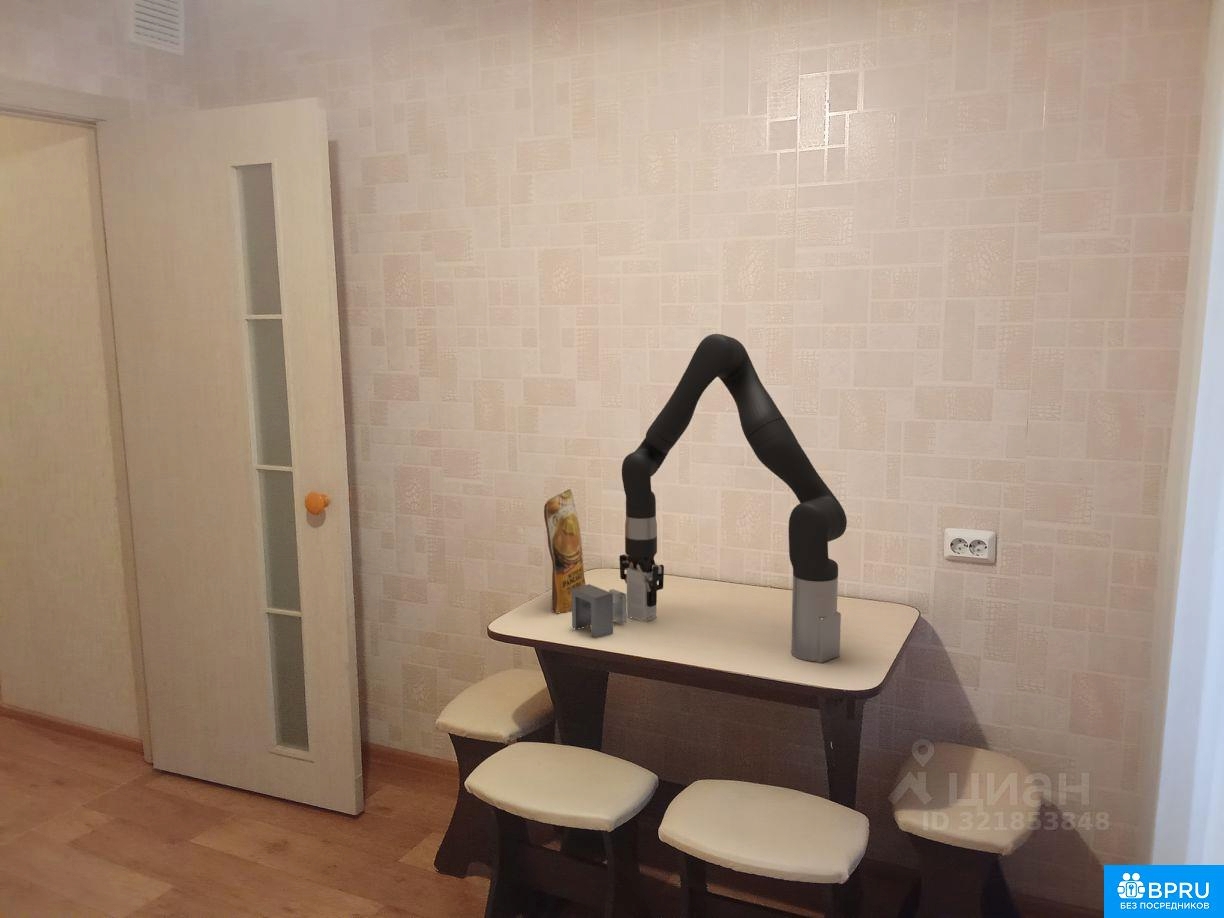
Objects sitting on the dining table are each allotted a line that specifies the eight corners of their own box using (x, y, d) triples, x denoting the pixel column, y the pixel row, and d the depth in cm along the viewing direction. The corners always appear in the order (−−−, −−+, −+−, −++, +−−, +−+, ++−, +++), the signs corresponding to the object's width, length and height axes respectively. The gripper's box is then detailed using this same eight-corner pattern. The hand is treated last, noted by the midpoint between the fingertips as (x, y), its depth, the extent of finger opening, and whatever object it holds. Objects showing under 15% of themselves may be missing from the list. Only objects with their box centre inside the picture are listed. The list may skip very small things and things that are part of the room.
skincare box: (657, 617, 219) (656, 569, 217) (645, 622, 215) (645, 573, 213) (638, 612, 223) (637, 564, 221) (626, 616, 220) (625, 568, 218)
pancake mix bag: (537, 614, 222) (534, 501, 218) (572, 591, 239) (569, 486, 235) (562, 617, 219) (559, 503, 215) (595, 594, 237) (593, 488, 232)
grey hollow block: (634, 627, 212) (634, 587, 211) (595, 638, 205) (594, 597, 204) (603, 614, 222) (603, 576, 220) (564, 624, 215) (564, 585, 213)
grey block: (627, 622, 213) (627, 593, 212) (607, 628, 210) (606, 599, 209) (602, 612, 221) (601, 584, 220) (582, 617, 217) (581, 589, 216)
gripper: (673, 537, 212) (673, 606, 215) (634, 526, 224) (634, 591, 226) (648, 543, 208) (648, 613, 211) (609, 531, 219) (610, 598, 222)
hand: (641, 602), depth 218 cm, fingers open, 7 cm apart
